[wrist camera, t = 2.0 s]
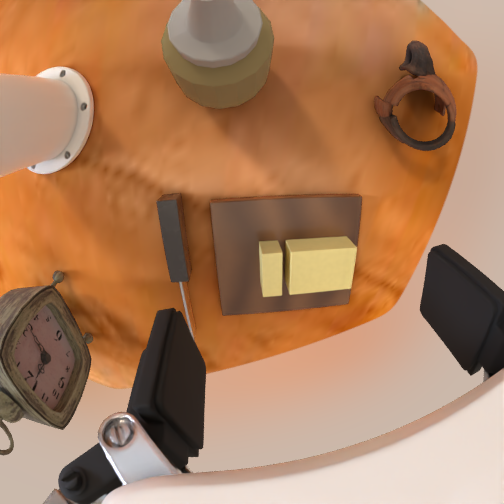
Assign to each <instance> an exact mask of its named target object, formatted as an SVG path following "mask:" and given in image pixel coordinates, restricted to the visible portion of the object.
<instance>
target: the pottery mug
mask: <svg viewBox="0 0 504 504" xmlns="http://www.w3.org/2000/svg"><path fill="white" fill-rule="evenodd" d="M399 69H400V70H407V71H408V72H410V73H411V74H413V75H417V76H419V77H417V78H415V79H413V78H412V77H411V76H410V75H407V76H405V77H404V78H402V79H401V80H399V81H397V82H396V83H395V84H394V86H393V87H392V88H390V89H389V91H388V92H387V94H386V96H385V98H384V100H382V99H380V98H379V97H378V96H376V97H375V99H374V102H375V109H376V111H377V114H379V115H380V116H379V118H380V121H381V122H382V123H383V125H384V126H385V127H386V129H387V130H388V131H389V132H390V133H391V134H392V135H393V136H394V137H395V138H396V139H397V140H399V141H400V142H402V143H406V144H407V145H408V146H410V147H413V148H414V149H418V150H423V151H430V150H436V149H437V148H440V147H441V146H443V145H445V144H446V143H447V142H448V141H449V140H450V139H451V137H452V135H453V133H454V130H455V118H456V105H455V101H454V98H453V95H452V93H451V91H450V90H449V88H448V87H447V85H446V84H445V83H444V81H443V80H442V79H441V78H439V77H438V76H437V75H436V74H435V71H434V67H433V61H432V58H431V56H430V53H429V51H428V48H427V46H426V45H424V44H423V43H421V42H419V41H411V43H409V44H408V46H407V50H406V58H405V61H404V63H403V64H402V65H401V66H400V67H399ZM421 89H422V90H427V91H430V92H432V93H434V95H435V111H437V112H439V113H440V114H441V115H442V116H444V114H445V108H446V109H447V114H448V123H447V127H446V129H445V131H444V132H443V134H442V135H441V136H440V137H438V138H437V139H435V140H432V141H427V142H422V141H417V140H414V139H412V138H410V137H409V136H408V135H407V134H406V133H404V131H403V130H402V129H401V127H400V125H399V123H398V120H397V116H395V115H393V114H392V112H393V110H392V109H393V105H394V106H398V104H399V102H400V101H401V99H402V98H403V97H404V96H405V95H406V94H407V93H409V92H411V91H415V90H421Z"/></svg>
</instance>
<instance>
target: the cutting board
mask: <svg viewBox="0 0 504 504" xmlns="http://www.w3.org/2000/svg"><path fill="white" fill-rule="evenodd" d="M361 205H362V196H360V195H358V194H318V195H285V196H263V197H245V198H230V199H216V200H211V202H210V209H211V219H212V229H213V239H214V248H215V257H216V266H217V275H218V283H219V291H220V299H221V307H222V315H223V316H225V315H241V314H254V313H267V312H279V311H289V310H299V309H309V308H318V307H326V306H335V305H343V304H348V303H349V297H350V291H351V288H350V289H342V290H333V291H324V292H314V293H304V294H293V295H290V294H289V291H288V288H287V285H286V282H285V243H286V240H292V239H309V238H325V237H343V236H347V237H348V238H349V239H350V240H351V241H352V243H353V244H354V245H355V246H356V247H357V243H358V235H359V226H360V216H361ZM276 240H278V242H279V245H280V247H281V250H282V253H283V262H282V296H270V297H263V294H262V288H261V283H260V256H259V242H260V241H276Z"/></svg>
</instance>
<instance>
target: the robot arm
mask: <svg viewBox="0 0 504 504" xmlns="http://www.w3.org/2000/svg"><path fill="white" fill-rule="evenodd" d="M86 106H87V108H86ZM93 115H94V101H93V96H92V91H91V89H90V86H89V84H88V82H87V81H86V79H85V78H84V76H82V75H81V74H80V73H79V72H78V71H76V70H74V69H71V68H68V67H53V68H49V69H47V70H45V71H43V72H41V73H39V74H38V75H37V76H25V75H13V74H0V177H3V176H5V175H8V174H11V173H13V172H16V171H19V170H21V169H24V168H28V169H29V170H31V171H33V172H35V173H38V174H49V173H53V172H56V171H59V170H61V169H63V168H65V167H66V166H68V165H69V164H70V163H71V162H72V161H74V159H75V158H76V157H77V156H78V155H79V154H80V152H81V150H82V149H83V147H84V145H85V143H86V141H87V139H88V136H89V134H90V130H91V127H92V123H93ZM420 311H421V314H422V316H423V317H424V318H425V319H426V321H427V322H428V323H429V324H430V325H431V327H432V328H433V329H434V331H435V332H436V333H437V334H438V336H439V337H440V338H441V340H442V341H443V342H444V344H445V345H446V346H447V348H448V349H449V350H450V352H451V353H452V354H453V356H454V357H455V358H456V360H457V361H458V362H459V364H460V365H461V367H462V368H463V369H464V370H467V371H468V373H469V374H470V375H473V374H475V373H476V372H478V371H479V370H480V369H481V367H483V368H484V381H483V383H482V384H480V385H479V386H477V387H476V388H474V389H473V390H471V391H469V392H468V393H466V394H464V395H463V396H461V397H459V398H458V399H456V400H454V401H452V402H451V403H449V404H447V405H445V406H443V407H442V408H440V409H438V410H436V411H434V412H432V413H430V414H428V415H426V416H424V417H422V418H420V419H418V420H416V421H414V422H412V423H409V424H407V425H405V426H403V427H400V428H398V429H396V430H393V431H391V432H389V433H386V434H383V435H381V436H378V437H375V438H373V439H370V440H367V441H364V442H361V443H358V444H355V445H352V446H349V447H346V448H343V449H339V450H336V451H332V452H329V453H325V454H321V455H317V456H313V457H309V458H305V459H300V460H296V461H290V462H285V463H279V464H273V465H267V466H261V467H254V468H246V469H238V470H227V471H214V472H202V473H193V472H192V471H191V470H190V469H189V468H188V467H187V464H188V457H198V455H199V449H202V448H203V440H204V439H203V438H204V406H205V405H204V404H205V382H206V366H205V362H204V360H203V358H202V356H201V354H200V352H199V350H198V348H197V345H196V343H195V341H194V339H193V337H192V335H191V333H190V330H189V328H188V326H187V324H186V322H185V319H184V317H183V315H182V313H181V312H180V311H177V312H176V310H175V309H174V308H170V309H164V310H159V311H158V312H157V314H156V317H155V321H154V324H153V327H152V331H151V334H150V337H149V341H148V344H147V348H146V349H145V350H144V351H143V353H142V355H141V359H140V362H139V366H138V369H137V373H136V377H135V380H134V384H133V388H132V392H131V396H130V400H129V404H128V408H127V412H118V413H114V414H112V415H110V416H108V417H107V418H106V419H105V420H104V421H103V422H102V424H101V425H100V428H99V430H98V439H99V443H98V444H96V445H95V446H94V447H92V448H91V449H89V450H88V451H87V452H85V453H84V454H83V455H81V456H80V457H78V458H77V459H75V460H74V461H72V462H71V463H69V464H68V465H67V466H65V467H64V468H63V469H62V471H61V473H60V475H59V479H58V482H59V488H60V489H59V490H57V489H54V490H53V491H52V493H51V494H50V495H49V497H48V498H47V499H46V500H45V502H44V503H43V504H504V291H503V290H502V289H500V288H499V287H498V286H497V285H496V284H495V283H494V282H493V281H491V280H490V279H489V278H488V277H487V276H486V275H484V274H483V273H482V272H480V271H479V270H478V269H477V268H476V267H474V266H473V265H472V264H471V263H470V262H468V261H467V260H466V259H464V258H463V257H462V256H461V255H459V254H458V253H457V252H455V251H454V250H453V249H451V248H450V247H449V246H447V245H445V244H442V245H439V246H435V247H433V248H432V249H431V251H430V252H429V254H428V259H427V267H426V275H425V281H424V288H423V293H422V299H421V304H420Z"/></svg>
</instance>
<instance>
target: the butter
mask: <svg viewBox="0 0 504 504" xmlns="http://www.w3.org/2000/svg"><path fill="white" fill-rule="evenodd" d="M356 252H357V247H356V246H355V245H354V244H353V243H352V241H351V240H350V239H349V238H348V237H347V236H343V237H325V238H309V239H292V240H286V243H285V282H286V285H287V288H288V291H289V294H290V295H293V294H304V293H314V292H324V291H333V290H342V289H350V288H351V286H352V280H353V273H354V267H355V260H356Z"/></svg>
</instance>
